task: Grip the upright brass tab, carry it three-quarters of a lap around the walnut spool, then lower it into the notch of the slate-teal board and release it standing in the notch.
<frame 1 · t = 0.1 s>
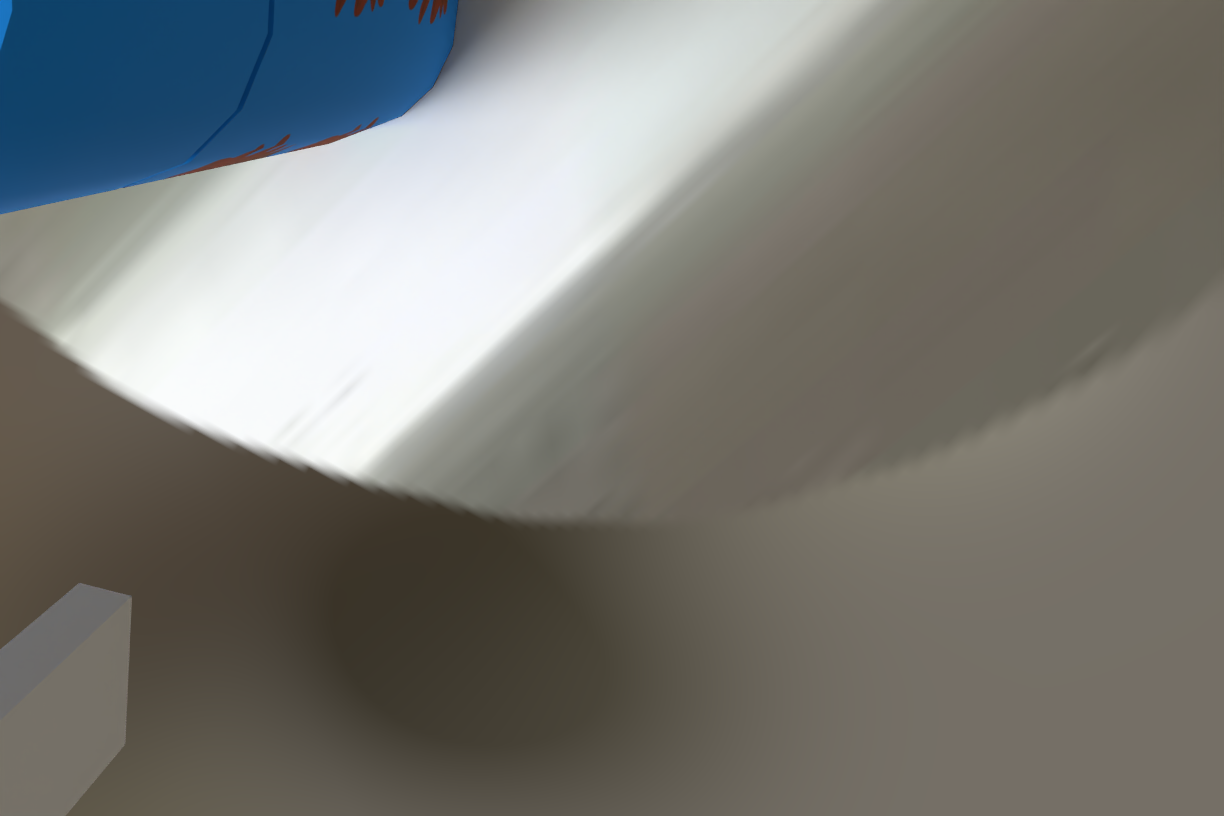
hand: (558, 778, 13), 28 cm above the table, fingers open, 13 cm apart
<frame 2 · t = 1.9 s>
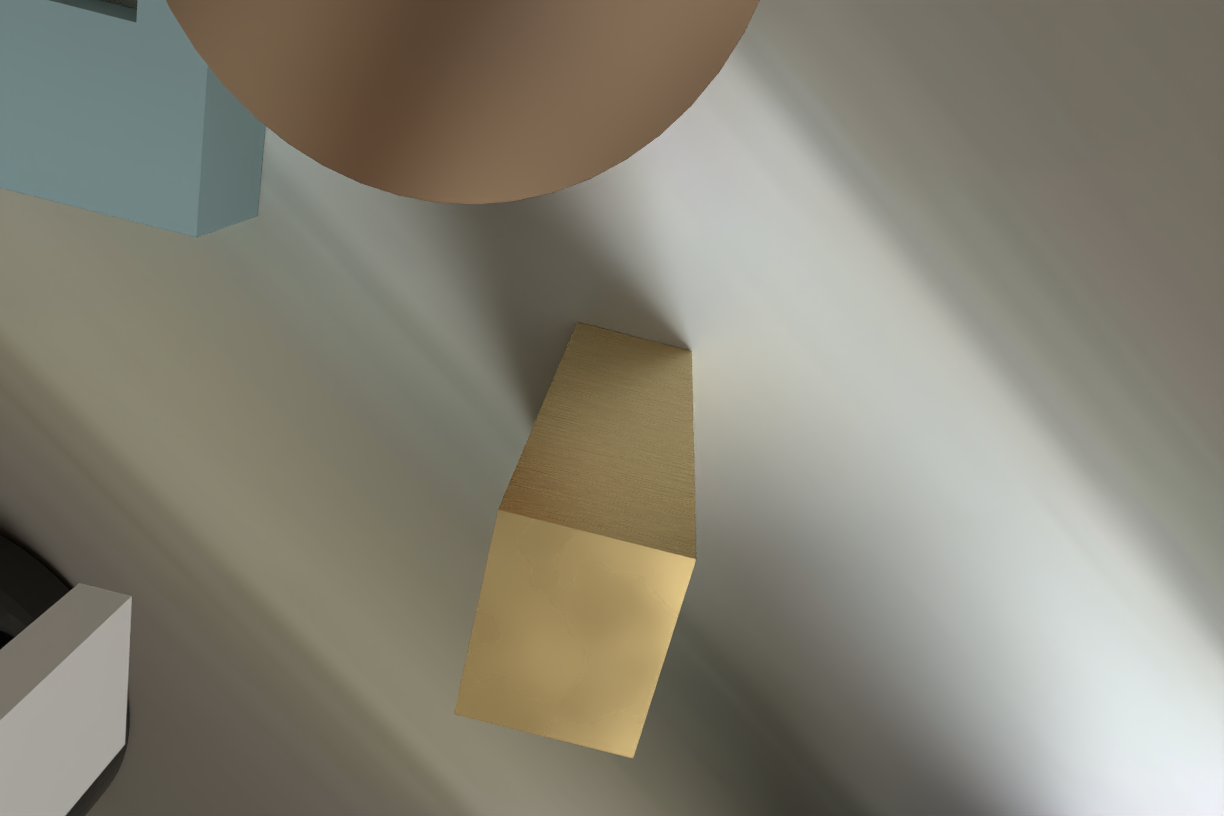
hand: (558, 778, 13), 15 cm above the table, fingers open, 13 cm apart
tab: (616, 405, 27), on the table
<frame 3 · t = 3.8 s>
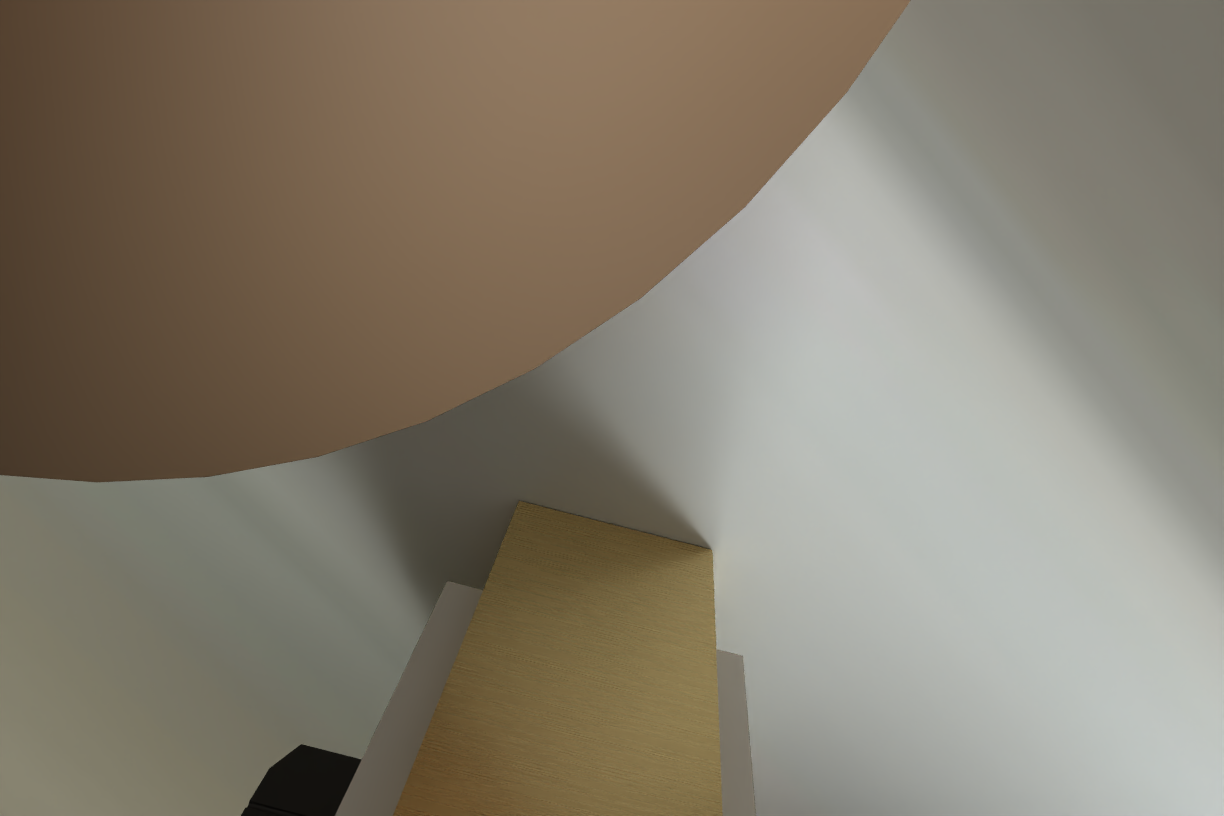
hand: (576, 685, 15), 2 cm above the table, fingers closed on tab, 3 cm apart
tab: (587, 629, 17), on the table, touching gripper
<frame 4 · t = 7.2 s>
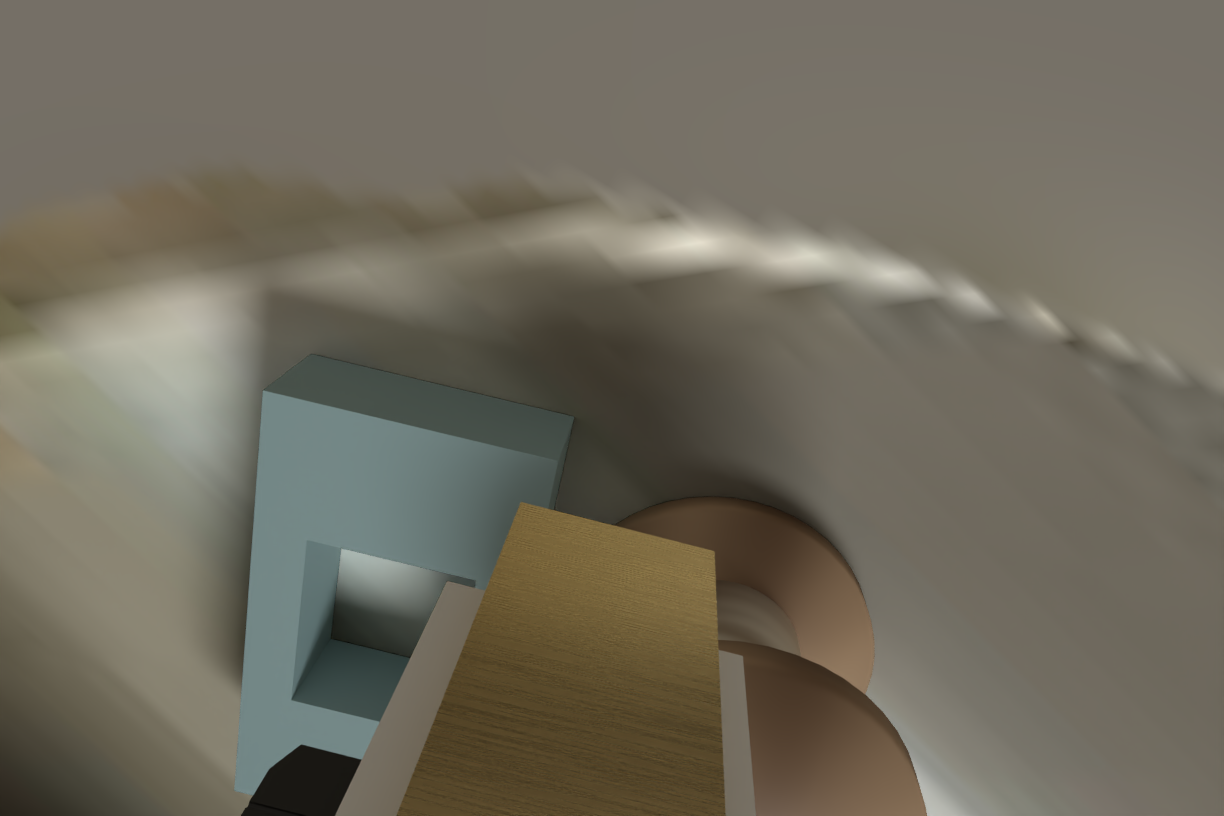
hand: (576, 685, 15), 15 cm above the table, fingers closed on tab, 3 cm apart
spool: (711, 633, 32), on the table
tab: (588, 630, 17), point 14 cm above the table, touching gripper
notch board: (411, 584, 33), on the table
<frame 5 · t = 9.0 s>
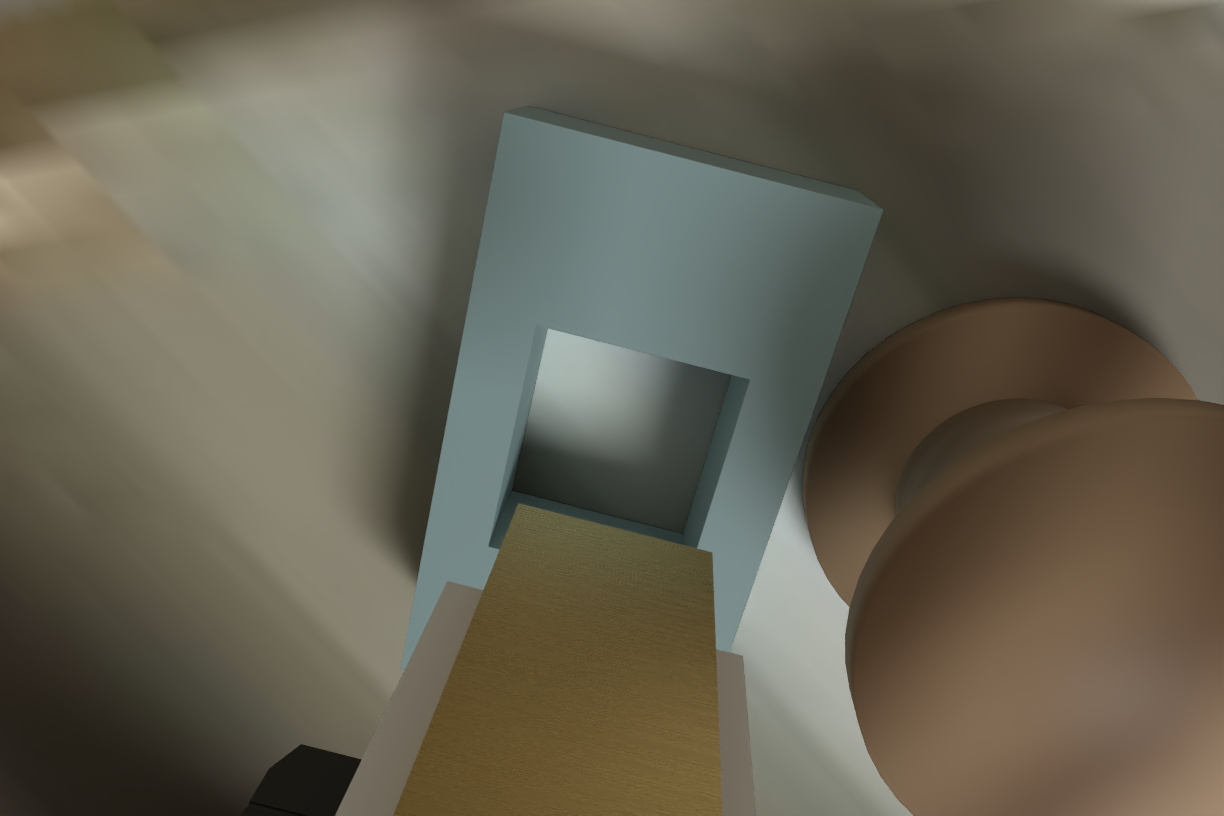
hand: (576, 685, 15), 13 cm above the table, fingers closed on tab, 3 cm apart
spool: (991, 479, 26), on the table
tab: (586, 631, 16), point 11 cm above the table, touching gripper
notch board: (622, 418, 27), on the table
when the fingers open (5 cm above the table, at t = 10.5 s): tab drops 3 cm, resting in notch board.
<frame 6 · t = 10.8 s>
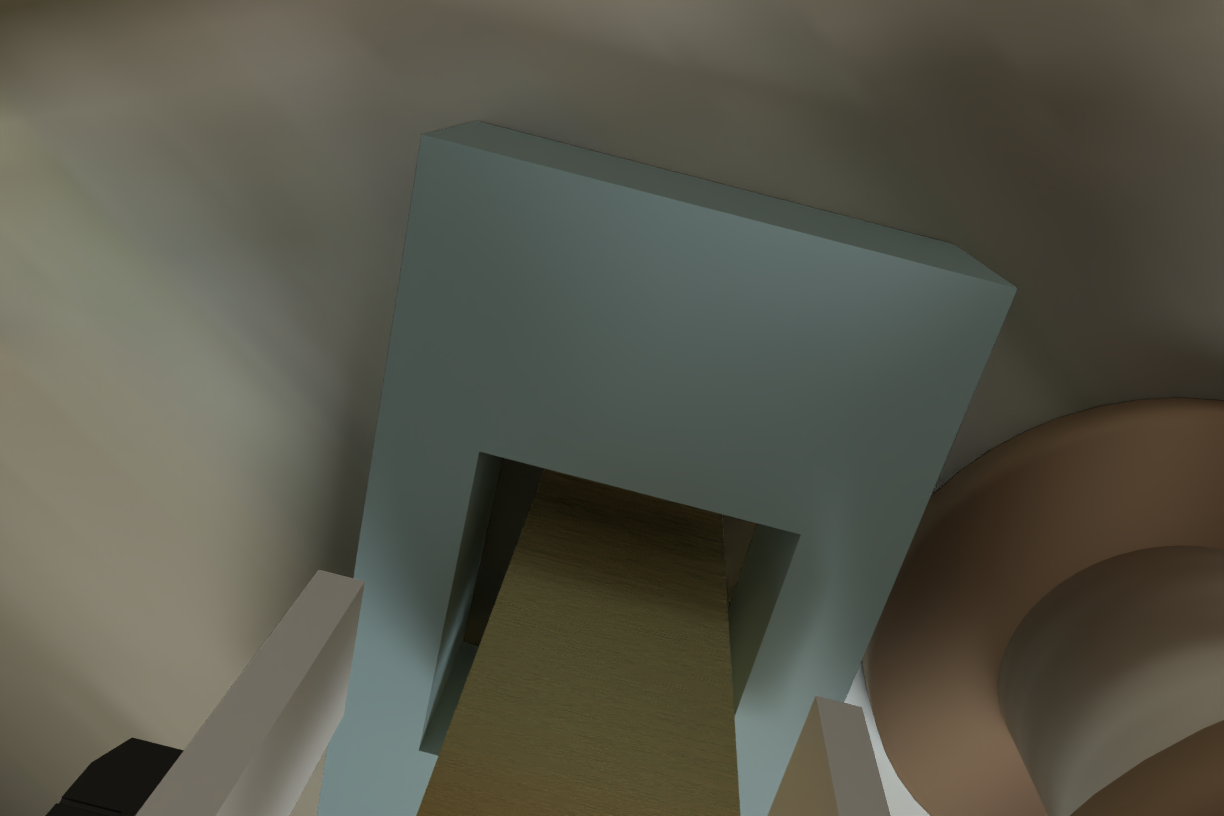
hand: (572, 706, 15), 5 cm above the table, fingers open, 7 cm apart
spool: (1128, 642, 19), on the table
tab: (612, 552, 19), resting in notch board
notch board: (613, 551, 19), on the table
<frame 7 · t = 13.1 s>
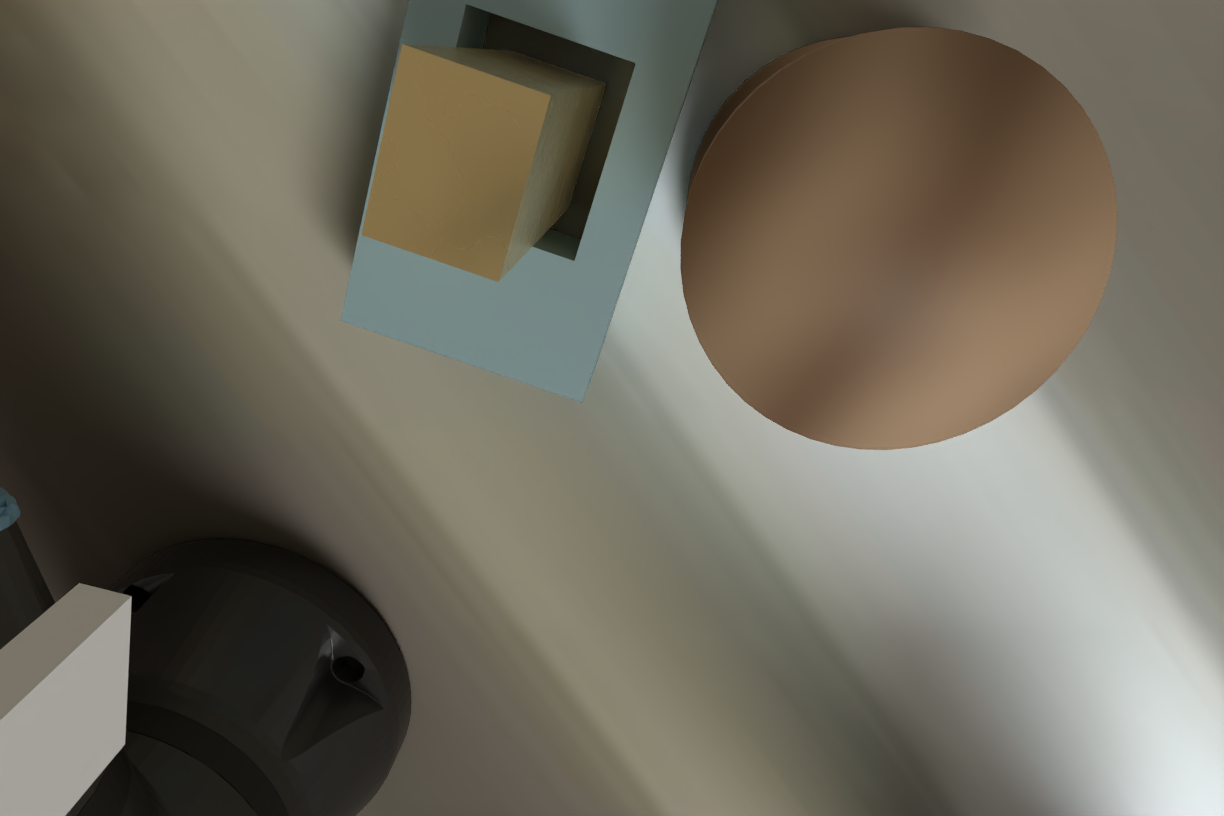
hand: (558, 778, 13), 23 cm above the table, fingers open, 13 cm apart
spool: (842, 204, 32), on the table
tab: (541, 131, 32), resting in notch board
notch board: (541, 130, 32), on the table
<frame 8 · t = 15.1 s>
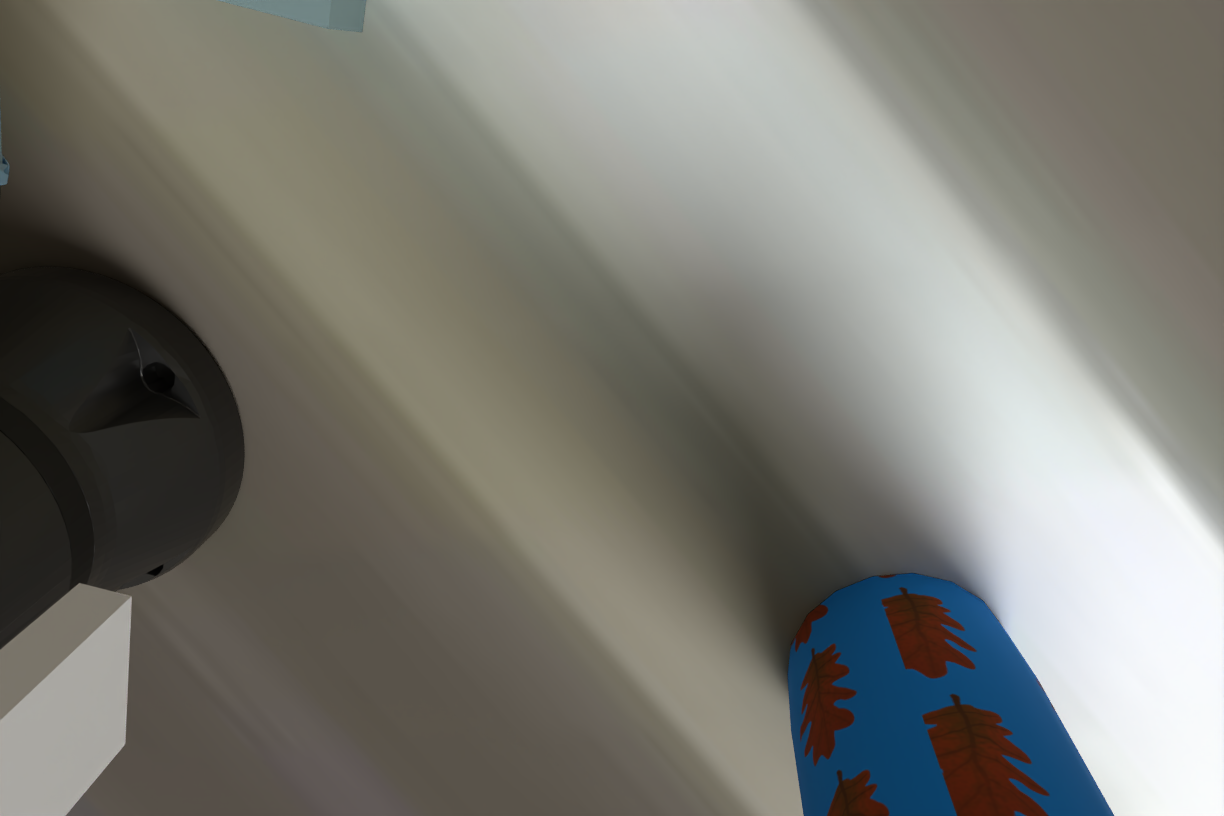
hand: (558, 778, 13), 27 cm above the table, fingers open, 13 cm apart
thermos: (896, 664, 43), on the table
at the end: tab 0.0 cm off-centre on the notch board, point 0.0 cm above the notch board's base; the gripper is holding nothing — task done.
